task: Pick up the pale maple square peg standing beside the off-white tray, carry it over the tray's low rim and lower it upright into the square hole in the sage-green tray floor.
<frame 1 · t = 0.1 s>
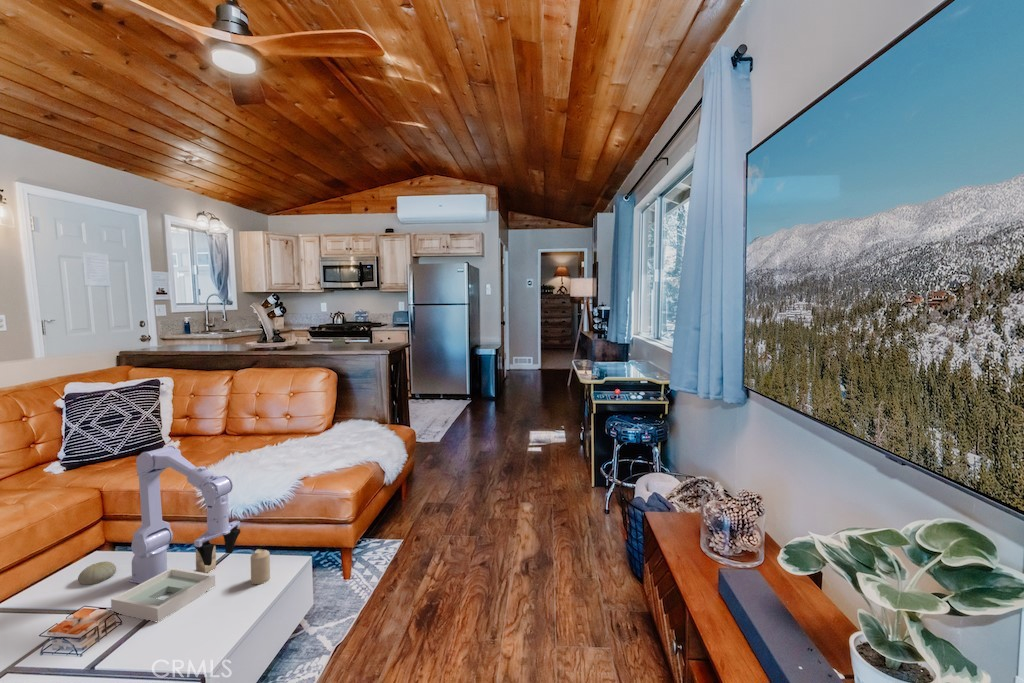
hand: (218, 558, 141), 10 cm above the table, tool pointing down, fingers open, 7 cm apart
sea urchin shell: (97, 579, 148), on the table
peg: (206, 570, 153), on the table
tray: (165, 599, 136), on the table
candle: (260, 580, 147), on the table
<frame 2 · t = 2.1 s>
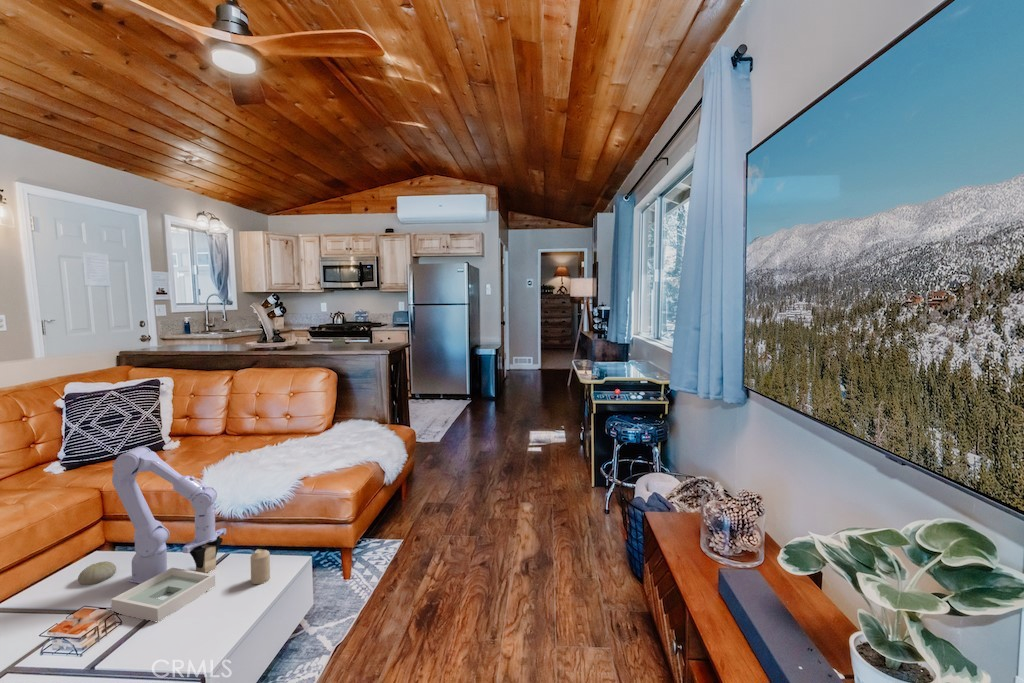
hand: (206, 563, 153), 2 cm above the table, tool pointing down, fingers closed on peg, 4 cm apart
peg: (206, 570, 153), on the table, touching gripper
everything else where it was.
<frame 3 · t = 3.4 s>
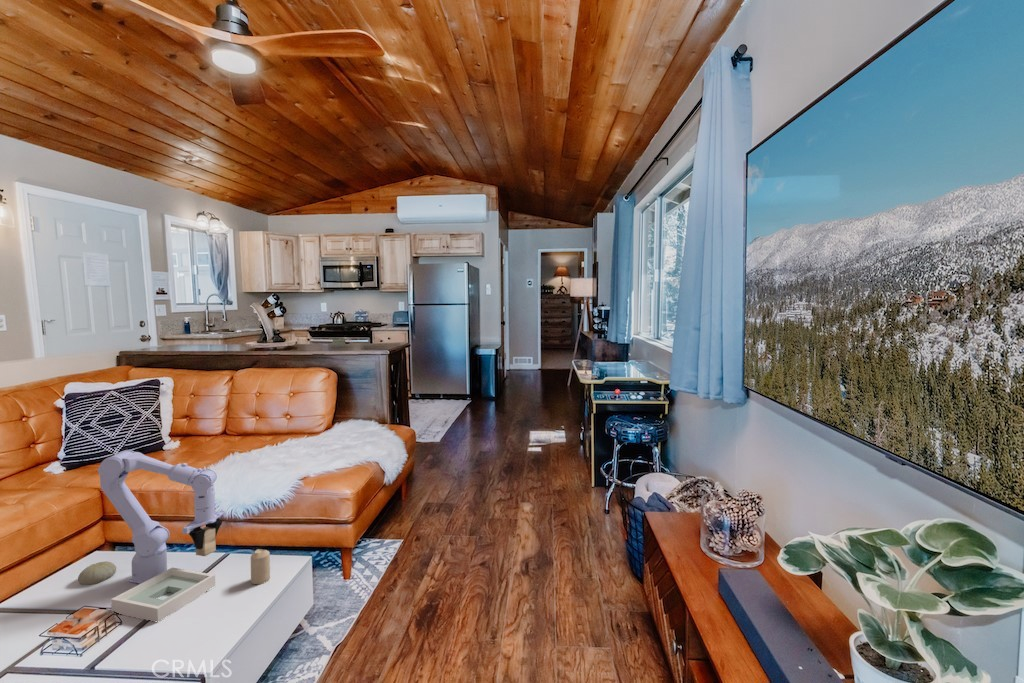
hand: (205, 545, 152), 9 cm above the table, tool pointing down, fingers closed on peg, 4 cm apart
peg: (205, 552, 152), point 6 cm above the table, touching gripper
everything else where it was.
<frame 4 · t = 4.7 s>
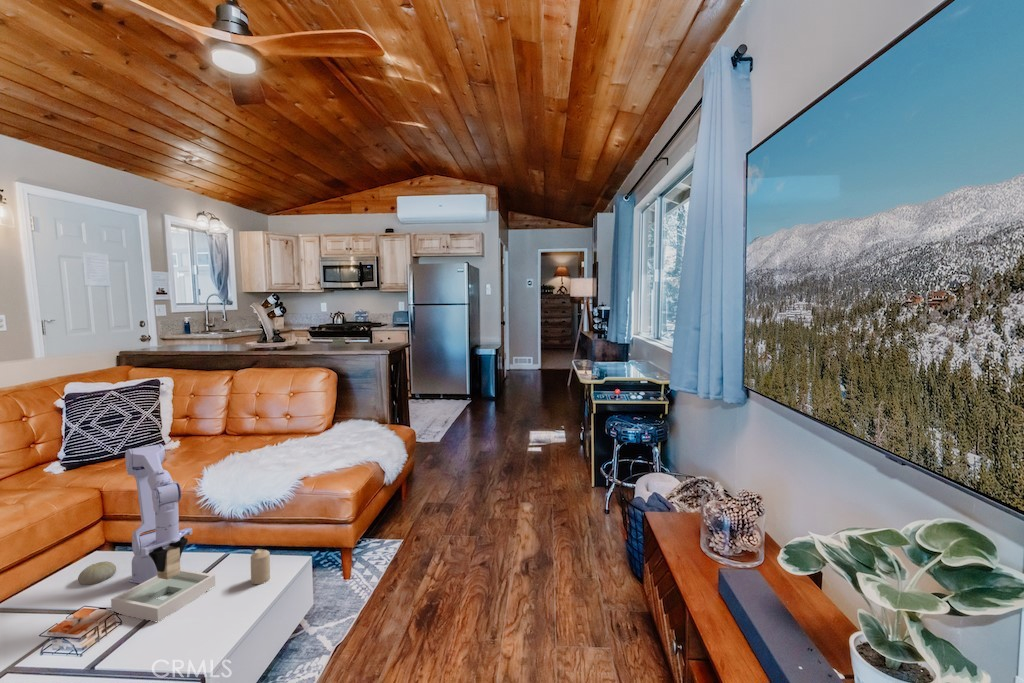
hand: (168, 567, 137), 9 cm above the table, tool pointing down, fingers closed on peg, 4 cm apart
peg: (169, 575, 137), point 7 cm above the table, touching gripper
everything else where it was.
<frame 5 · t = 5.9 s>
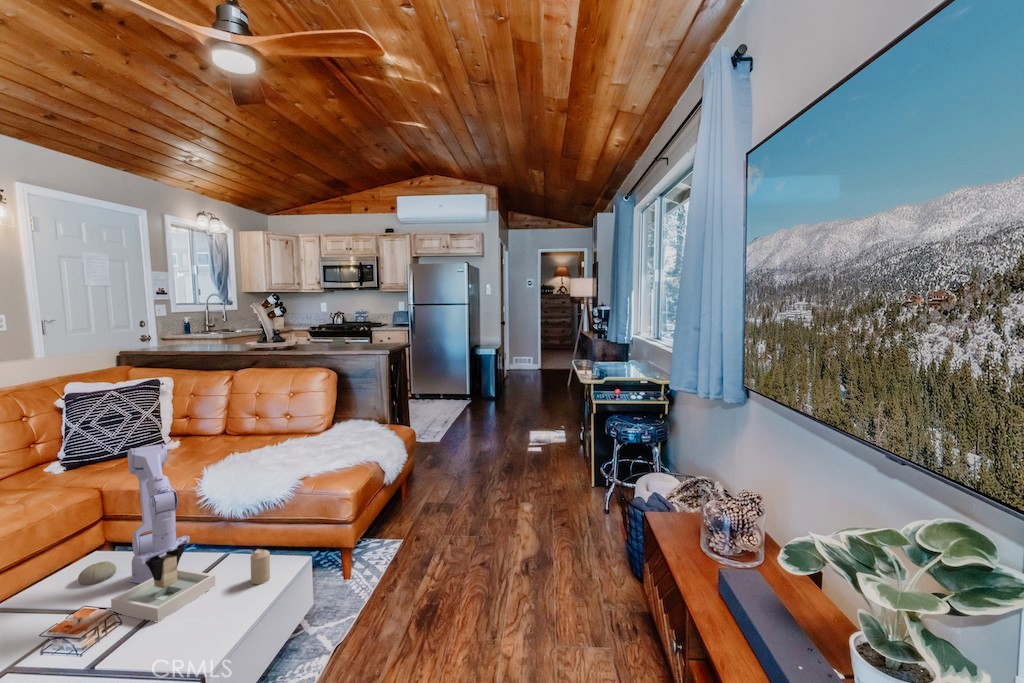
hand: (165, 575, 136), 7 cm above the table, tool pointing down, fingers closed on peg, 4 cm apart
peg: (165, 583, 136), point 5 cm above the table, touching gripper
everything else where it was.
when the fingers open (3 cm above the table, at t = 7.1 s): peg stays where it is, resting in tray.
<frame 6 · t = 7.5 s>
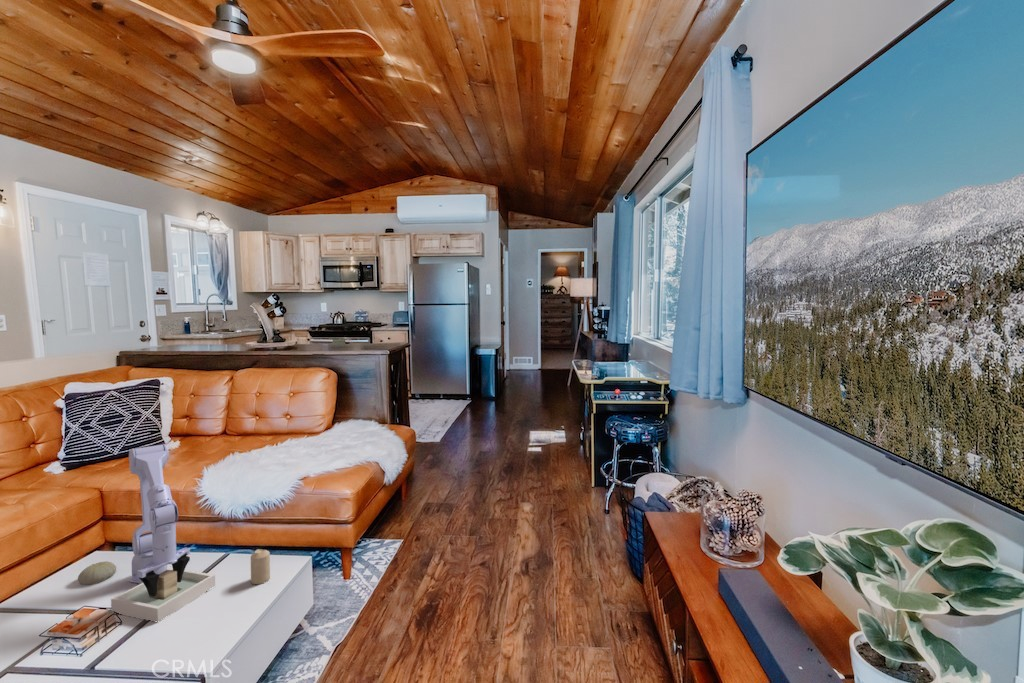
hand: (165, 588, 136), 3 cm above the table, tool pointing down, fingers open, 7 cm apart
peg: (166, 599, 136), resting in tray
everything else where it was.
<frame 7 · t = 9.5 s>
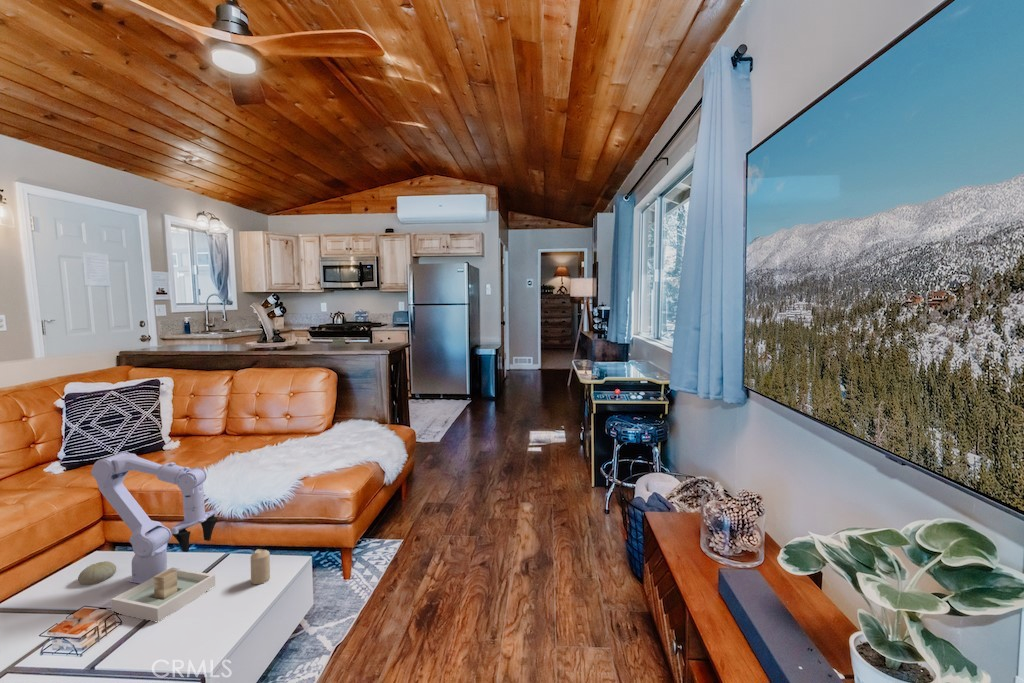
hand: (196, 545, 149), 10 cm above the table, tool pointing down, fingers open, 7 cm apart
nothing on the table moved.
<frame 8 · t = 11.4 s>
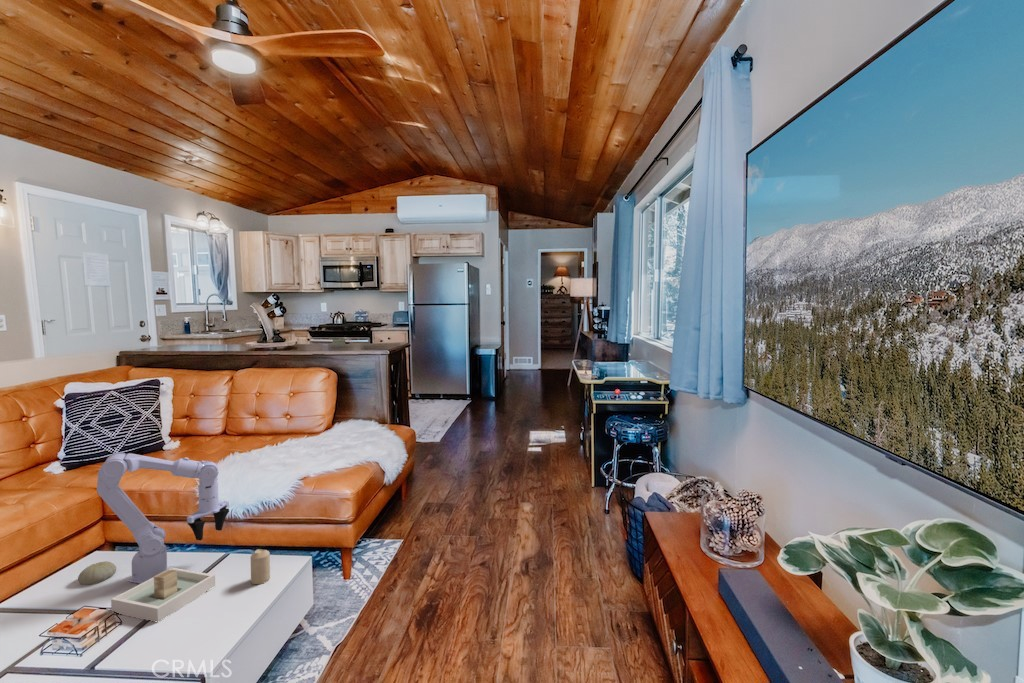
hand: (209, 534, 157), 10 cm above the table, tool pointing down, fingers open, 7 cm apart
nothing on the table moved.
at the end: peg 0.2 cm off-centre on the tray, point 0.0 cm above the tray's base; peg tilted 0°; the gripper is holding nothing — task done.
